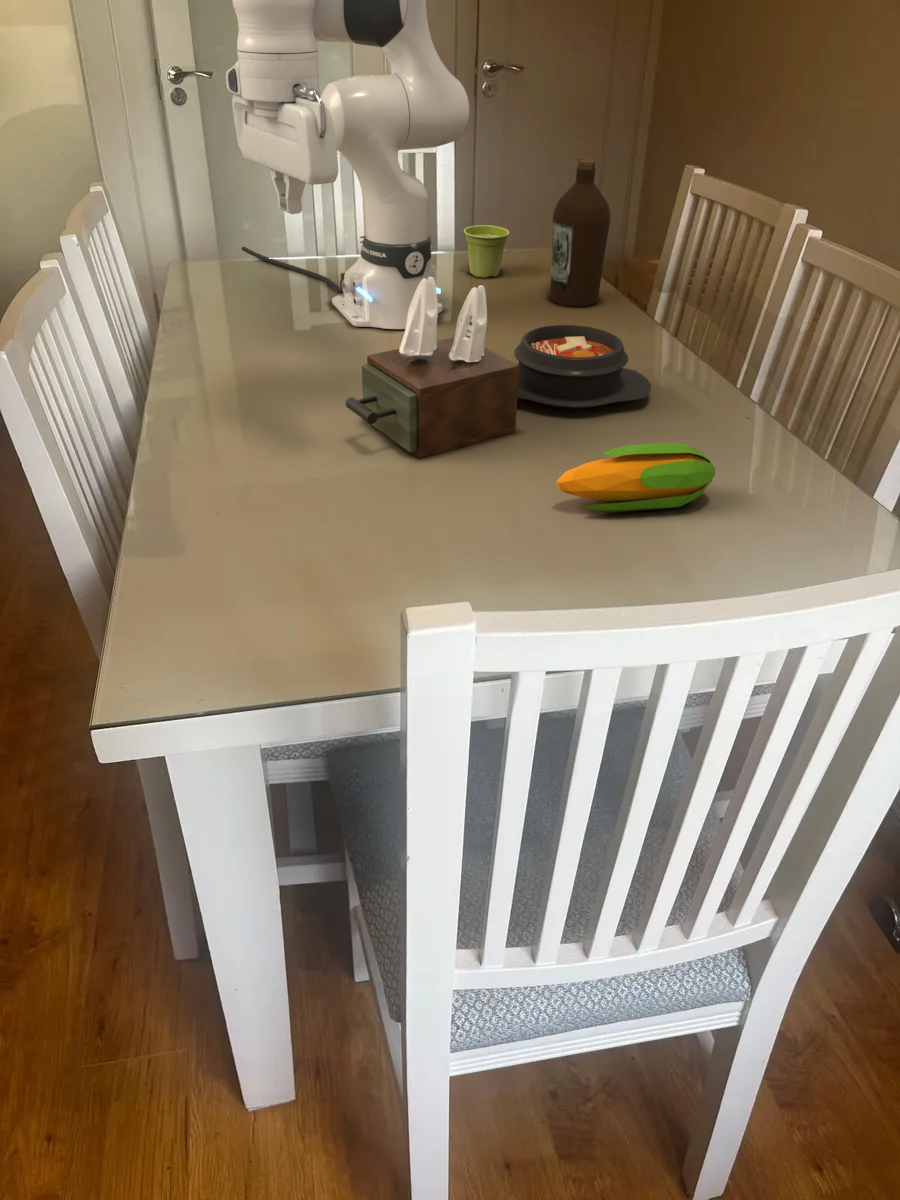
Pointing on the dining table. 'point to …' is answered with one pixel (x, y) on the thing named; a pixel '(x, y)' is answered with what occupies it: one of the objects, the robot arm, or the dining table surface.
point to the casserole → (576, 368)
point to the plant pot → (485, 249)
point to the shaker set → (424, 325)
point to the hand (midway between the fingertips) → (290, 211)
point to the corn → (641, 477)
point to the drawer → (387, 407)
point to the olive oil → (579, 240)
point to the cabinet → (456, 396)
